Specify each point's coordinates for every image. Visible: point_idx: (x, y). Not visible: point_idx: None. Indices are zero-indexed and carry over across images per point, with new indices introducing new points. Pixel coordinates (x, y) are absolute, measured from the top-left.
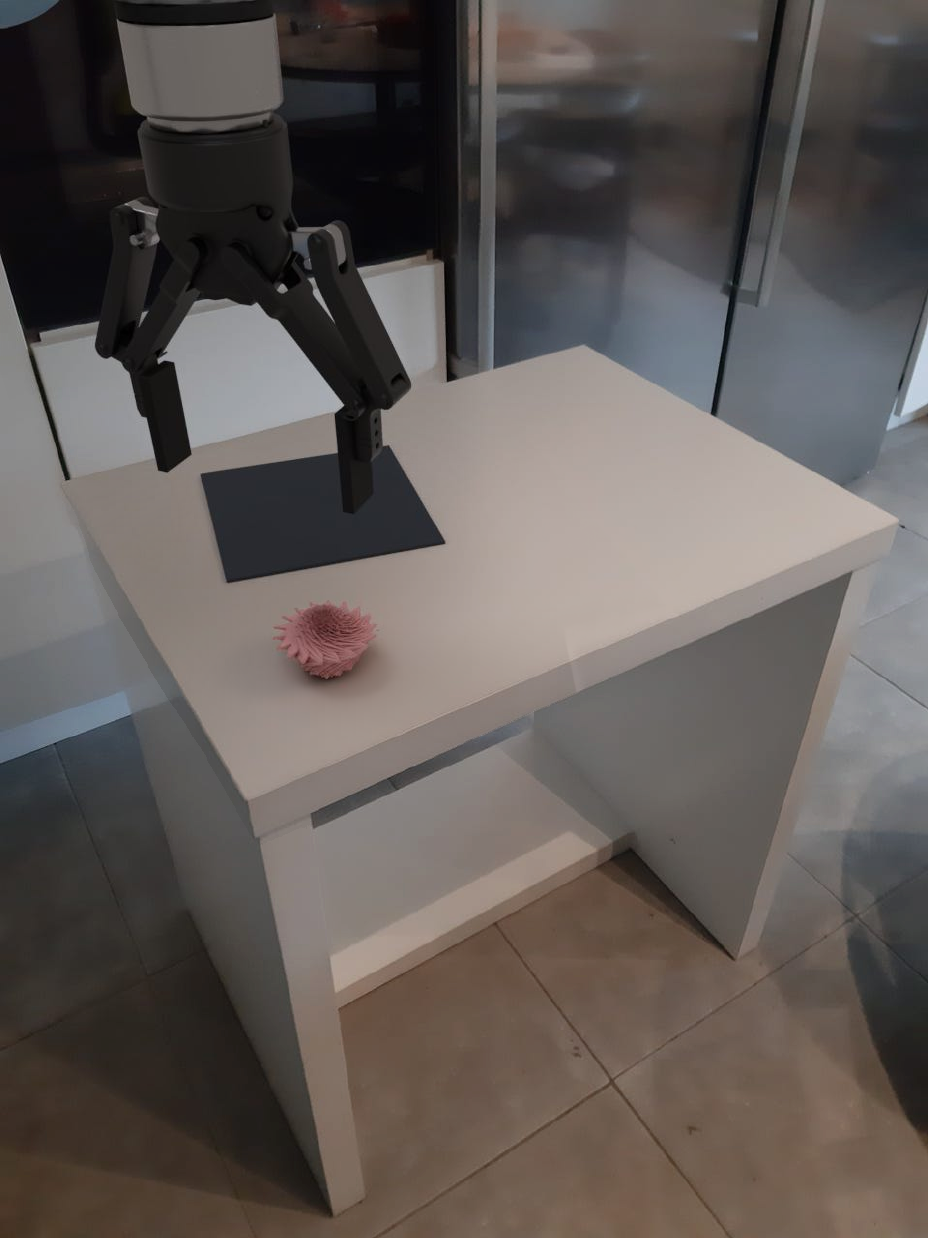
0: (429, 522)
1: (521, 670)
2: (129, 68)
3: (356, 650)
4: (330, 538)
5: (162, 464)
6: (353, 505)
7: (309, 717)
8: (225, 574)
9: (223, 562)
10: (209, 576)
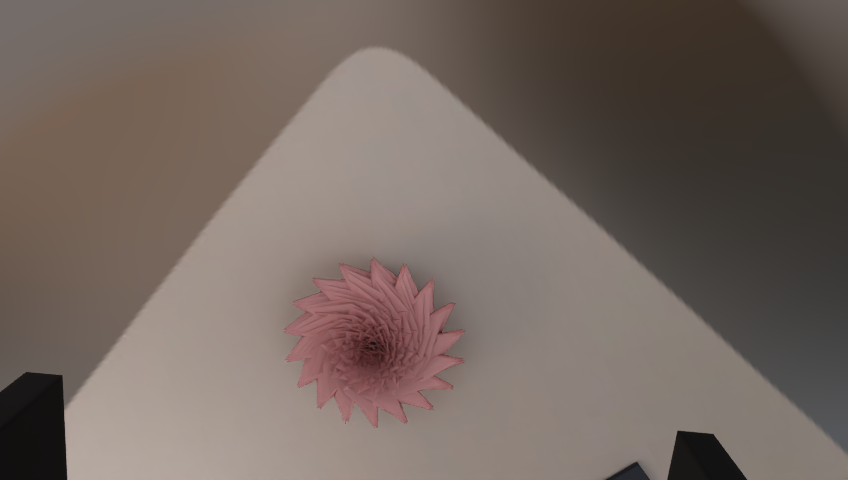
0: None
1: (95, 391)
2: None
3: (305, 319)
4: None
5: (700, 446)
6: (10, 388)
7: (359, 202)
8: (647, 478)
9: None
10: None
